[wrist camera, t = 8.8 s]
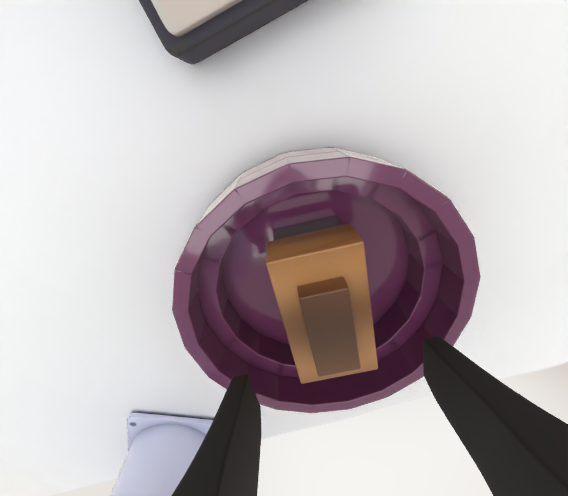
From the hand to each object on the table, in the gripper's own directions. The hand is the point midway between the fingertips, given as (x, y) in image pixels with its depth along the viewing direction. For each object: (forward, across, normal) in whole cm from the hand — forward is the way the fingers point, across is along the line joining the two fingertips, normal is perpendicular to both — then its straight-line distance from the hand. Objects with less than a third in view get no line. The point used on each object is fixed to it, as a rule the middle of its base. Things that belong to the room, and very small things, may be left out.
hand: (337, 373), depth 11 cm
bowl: (+8, 0, 0) cm, 8 cm away
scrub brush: (+8, 0, 0) cm, 8 cm away
